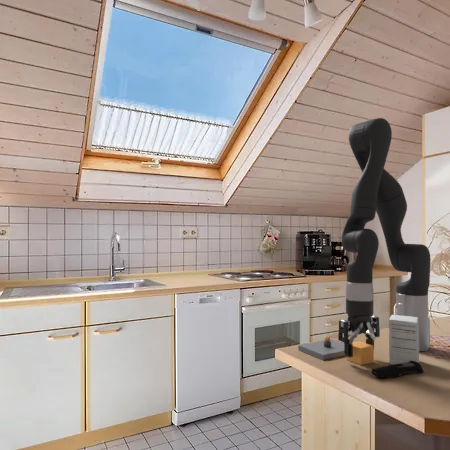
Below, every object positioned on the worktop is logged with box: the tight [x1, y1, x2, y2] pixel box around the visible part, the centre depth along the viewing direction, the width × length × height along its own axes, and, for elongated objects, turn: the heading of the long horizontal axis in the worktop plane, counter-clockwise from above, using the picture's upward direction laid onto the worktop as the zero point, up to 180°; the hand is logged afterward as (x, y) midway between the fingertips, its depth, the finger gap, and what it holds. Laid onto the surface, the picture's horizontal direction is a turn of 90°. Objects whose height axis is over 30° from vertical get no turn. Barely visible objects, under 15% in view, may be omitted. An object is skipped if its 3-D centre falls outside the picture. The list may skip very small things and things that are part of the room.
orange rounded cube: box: [346, 341, 375, 366], centre depth 109 cm, size 5×5×5 cm
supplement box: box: [388, 314, 420, 365], centre depth 108 cm, size 7×7×13 cm
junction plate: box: [297, 335, 346, 361], centre depth 118 cm, size 14×11×4 cm
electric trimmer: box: [371, 361, 425, 378], centre depth 99 cm, size 4×16×3 cm, turn 111°
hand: (359, 354), depth 109 cm, fingers open, 8 cm apart
